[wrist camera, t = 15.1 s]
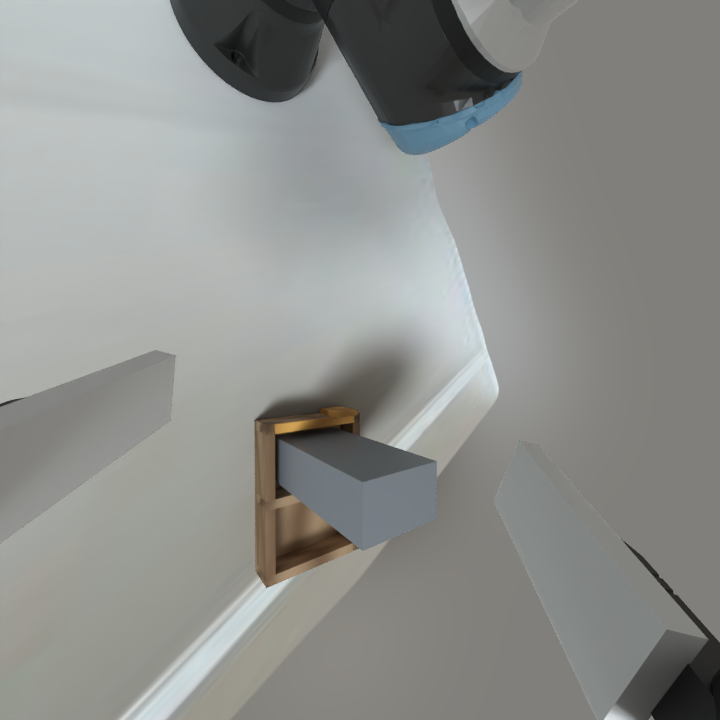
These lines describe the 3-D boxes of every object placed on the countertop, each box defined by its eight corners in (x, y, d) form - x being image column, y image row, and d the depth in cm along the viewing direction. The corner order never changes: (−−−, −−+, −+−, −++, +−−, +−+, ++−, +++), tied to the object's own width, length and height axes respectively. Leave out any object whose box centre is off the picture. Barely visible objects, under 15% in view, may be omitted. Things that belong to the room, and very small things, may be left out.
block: (273, 479, 38) (362, 550, 24) (273, 436, 38) (362, 482, 24) (333, 466, 42) (436, 518, 29) (333, 427, 42) (436, 461, 29)
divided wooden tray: (255, 570, 37) (269, 593, 34) (254, 414, 37) (269, 420, 33) (344, 536, 44) (364, 551, 41) (344, 405, 44) (364, 409, 40)
